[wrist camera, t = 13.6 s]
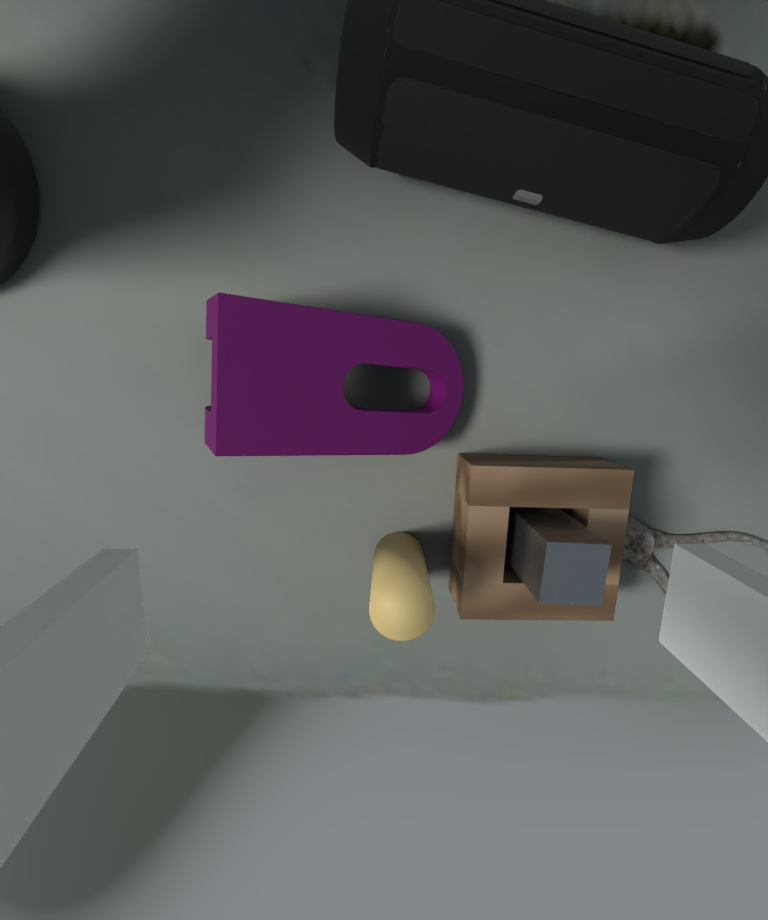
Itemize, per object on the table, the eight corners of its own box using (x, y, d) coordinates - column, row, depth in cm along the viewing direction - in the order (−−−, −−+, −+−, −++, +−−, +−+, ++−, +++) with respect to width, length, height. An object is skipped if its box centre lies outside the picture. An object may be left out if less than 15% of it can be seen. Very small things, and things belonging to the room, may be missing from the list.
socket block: (457, 453, 38) (472, 465, 33) (600, 457, 38) (634, 470, 34) (448, 588, 40) (460, 619, 35) (583, 590, 41) (613, 620, 36)
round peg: (368, 539, 39) (361, 587, 29) (416, 526, 39) (425, 571, 29) (381, 584, 40) (379, 647, 30) (428, 572, 39) (442, 631, 30)
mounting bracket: (411, 334, 42) (199, 304, 33) (470, 331, 35) (218, 291, 26) (401, 437, 44) (197, 434, 35) (455, 454, 36) (215, 456, 28)
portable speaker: (336, 182, 34) (325, 105, 24) (365, 31, 32) (365, -117, 22) (657, 266, 36) (767, 227, 26) (700, 129, 34) (835, 31, 24)
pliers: (754, 643, 42) (546, 604, 40) (746, 638, 43) (543, 599, 41) (793, 544, 40) (579, 499, 39) (784, 541, 41) (574, 496, 39)
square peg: (501, 498, 39) (547, 541, 29) (549, 501, 39) (611, 544, 29) (495, 545, 40) (538, 603, 30) (543, 548, 40) (601, 605, 30)
